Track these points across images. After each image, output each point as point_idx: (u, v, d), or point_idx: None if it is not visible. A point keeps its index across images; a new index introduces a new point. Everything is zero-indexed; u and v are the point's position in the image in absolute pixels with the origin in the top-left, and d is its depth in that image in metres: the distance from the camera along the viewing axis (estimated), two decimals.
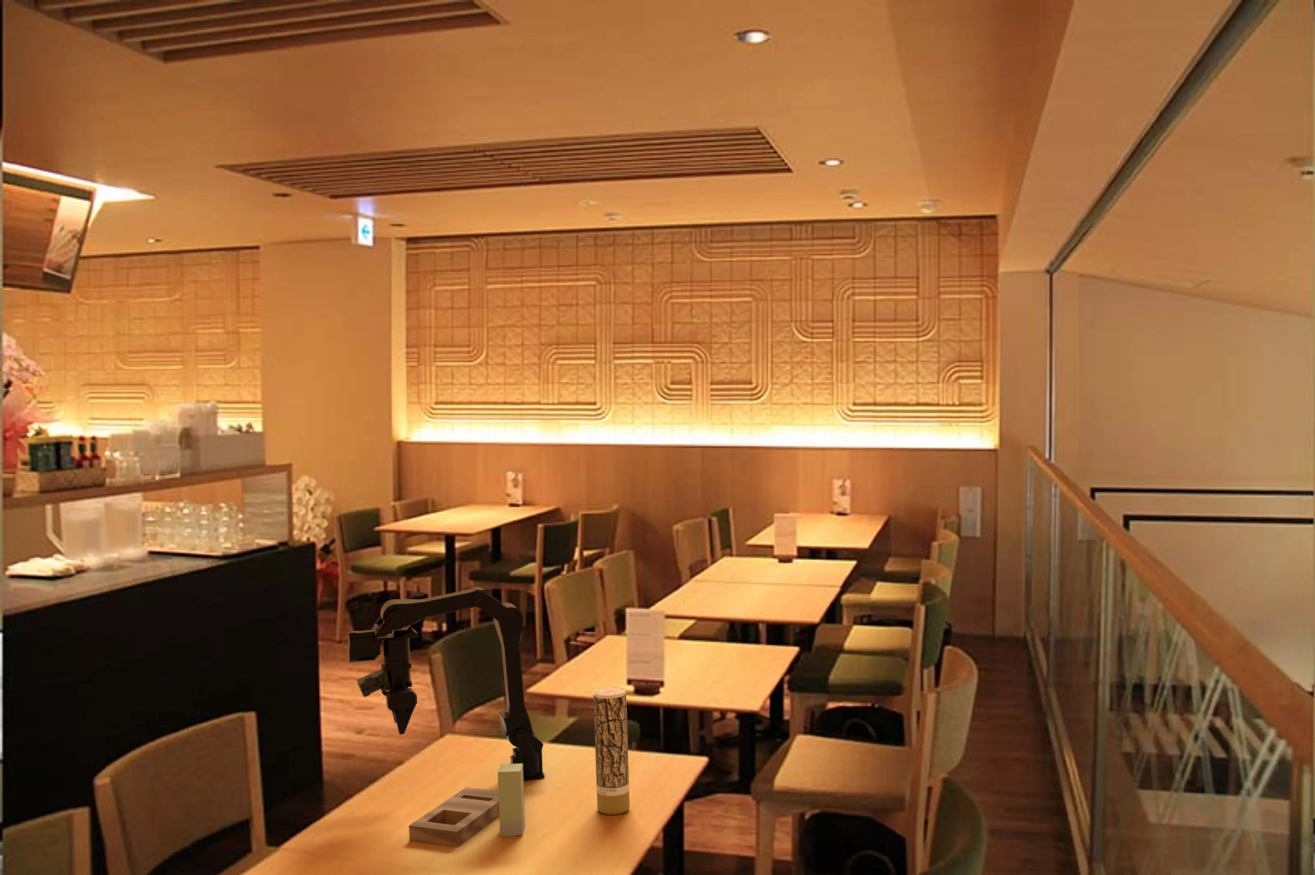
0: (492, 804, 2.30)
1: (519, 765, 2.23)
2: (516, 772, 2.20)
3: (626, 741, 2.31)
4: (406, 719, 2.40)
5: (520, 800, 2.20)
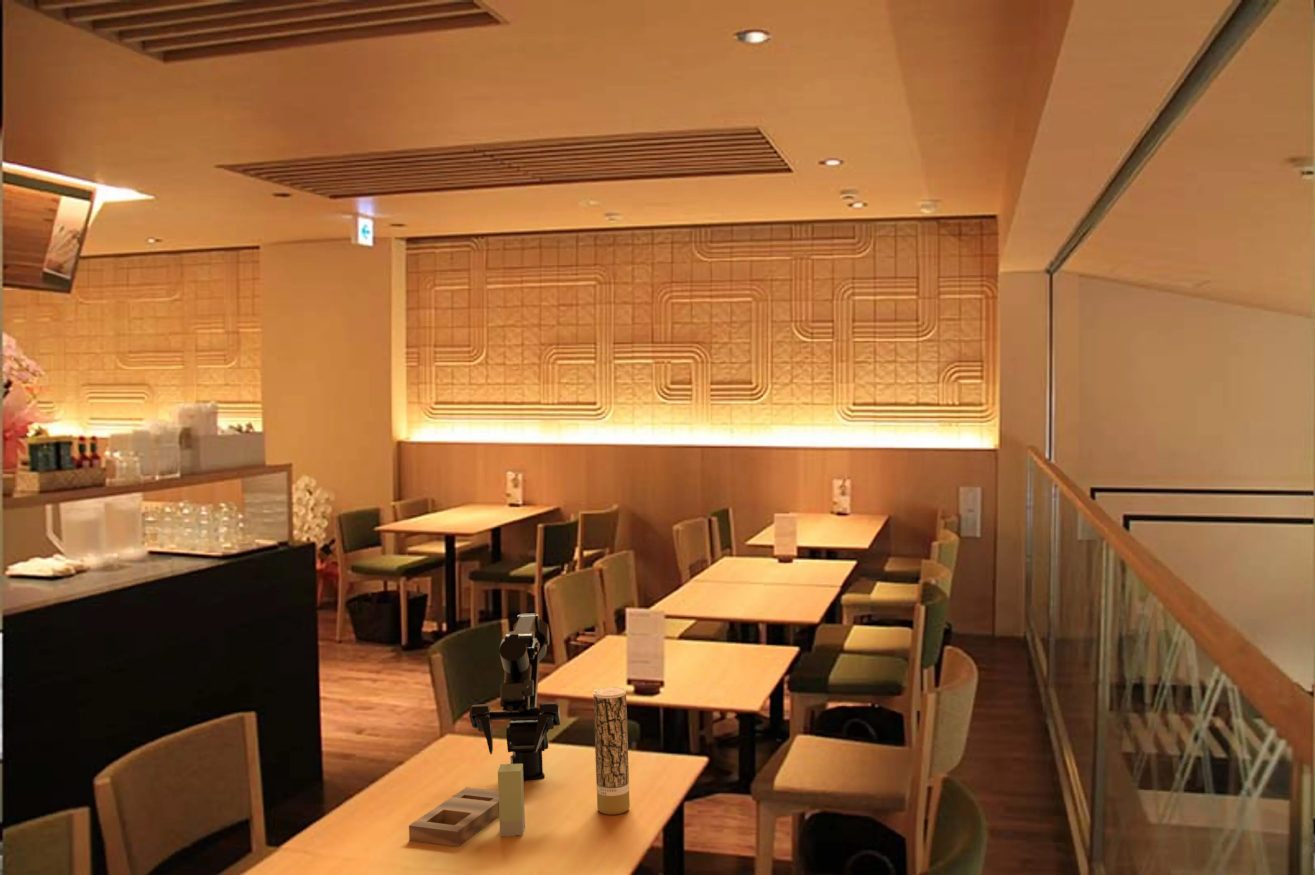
0: (492, 804, 2.30)
1: (519, 765, 2.23)
2: (516, 772, 2.20)
3: (626, 741, 2.31)
4: (542, 738, 2.33)
5: (520, 800, 2.20)
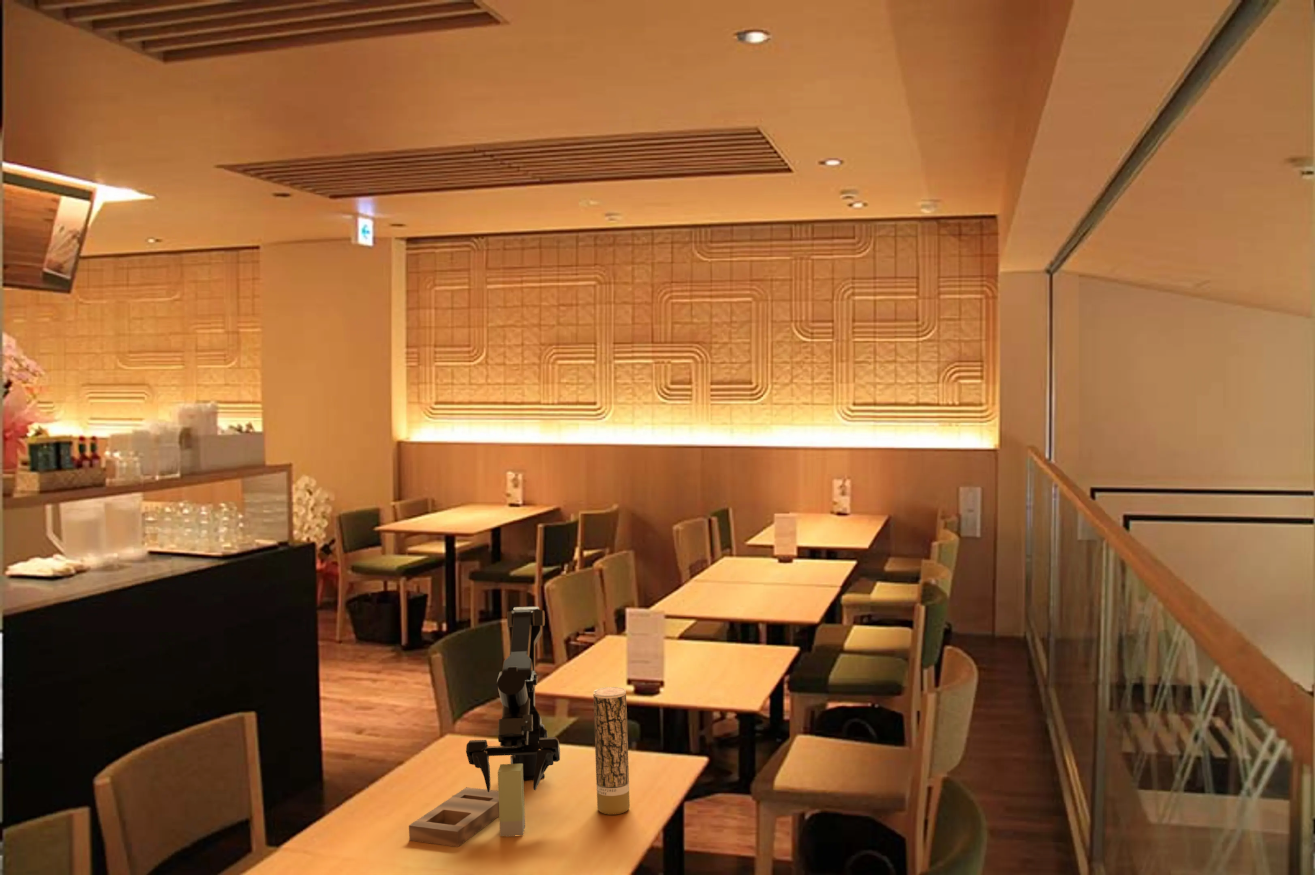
0: (492, 804, 2.30)
1: (519, 765, 2.23)
2: (516, 772, 2.20)
3: (626, 741, 2.31)
4: (541, 775, 2.26)
5: (520, 800, 2.20)
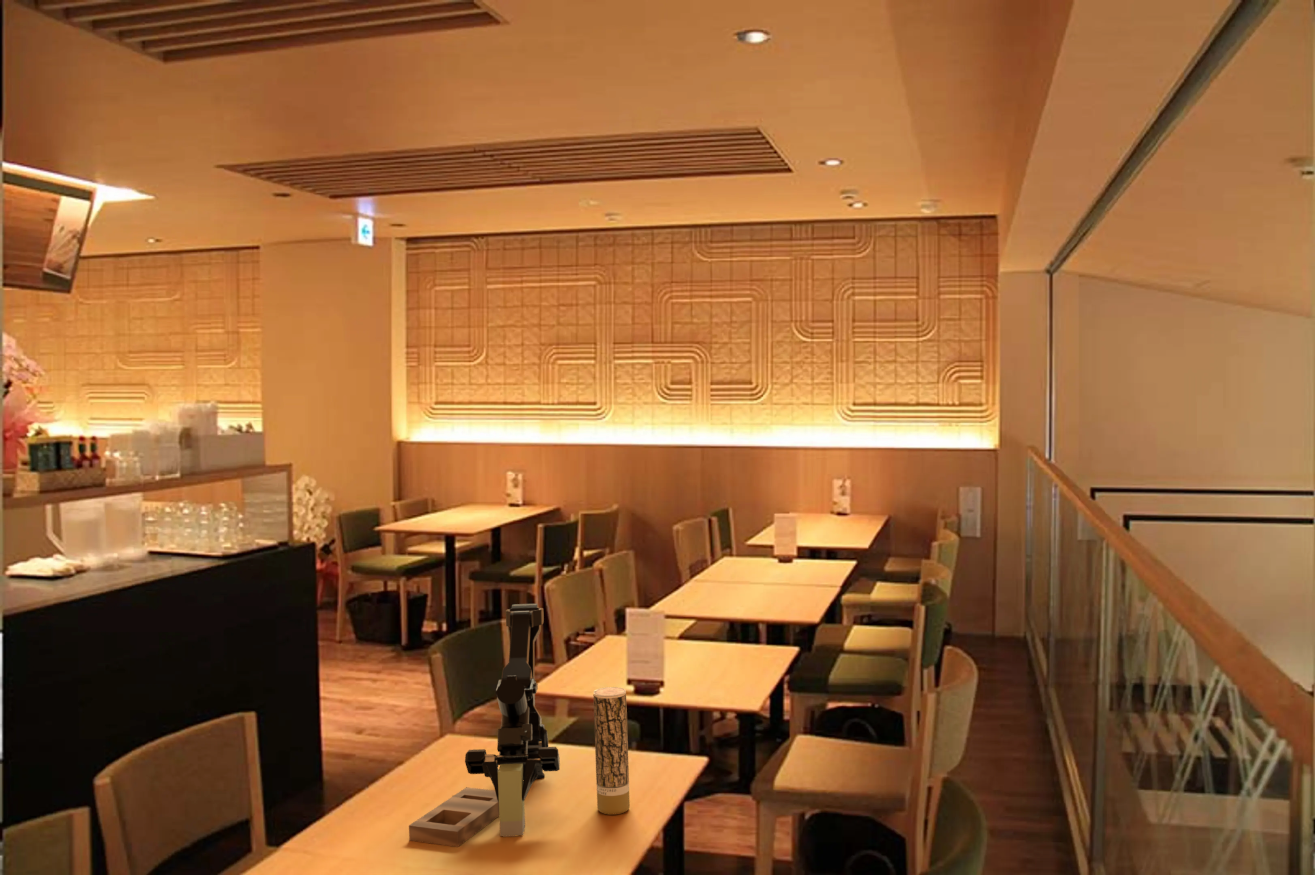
0: (492, 804, 2.30)
1: (519, 765, 2.23)
2: (516, 772, 2.20)
3: (626, 741, 2.31)
4: (530, 785, 2.24)
5: (520, 800, 2.20)
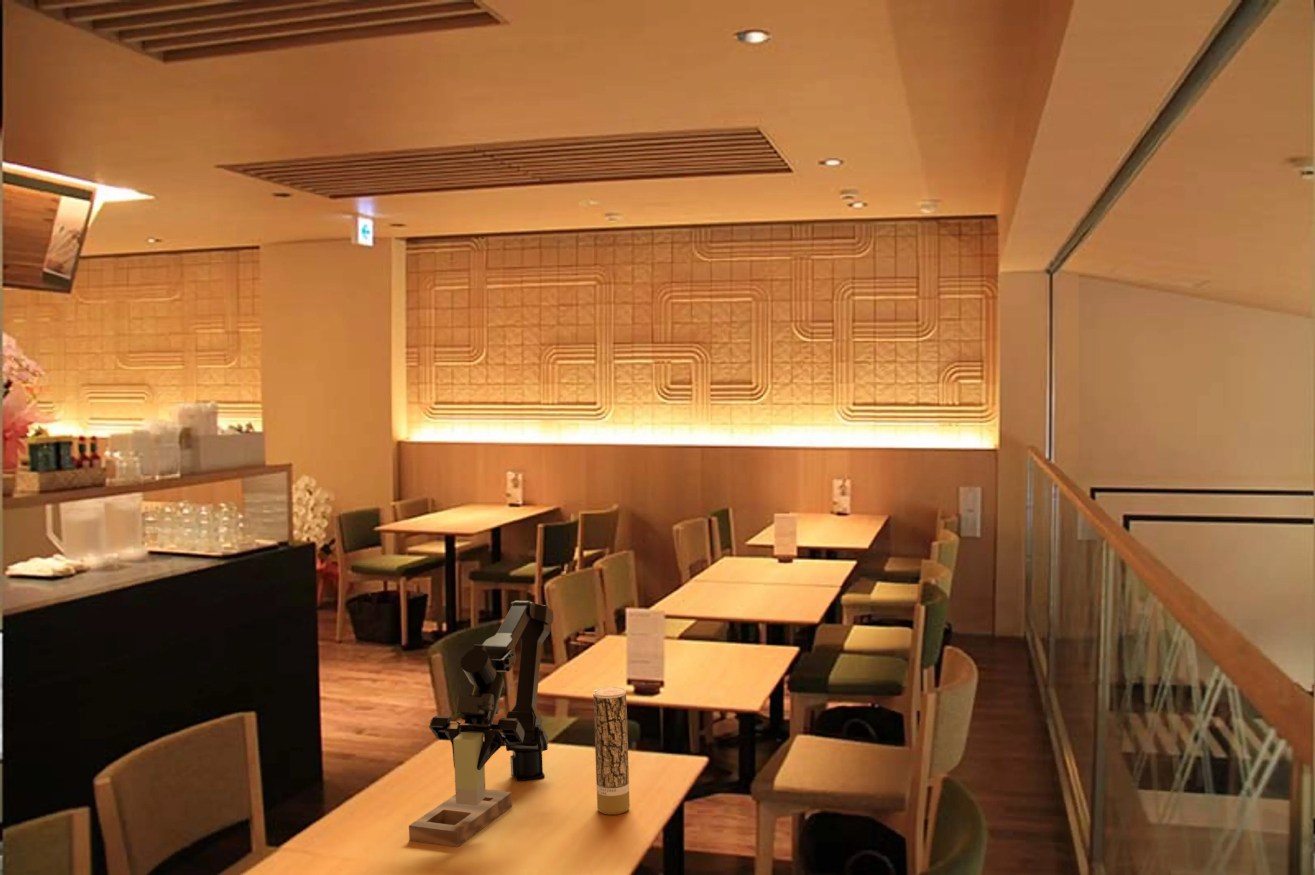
0: (492, 804, 2.30)
1: (478, 734, 2.23)
2: (470, 740, 2.19)
3: (626, 741, 2.31)
4: (489, 755, 2.23)
5: (474, 769, 2.19)
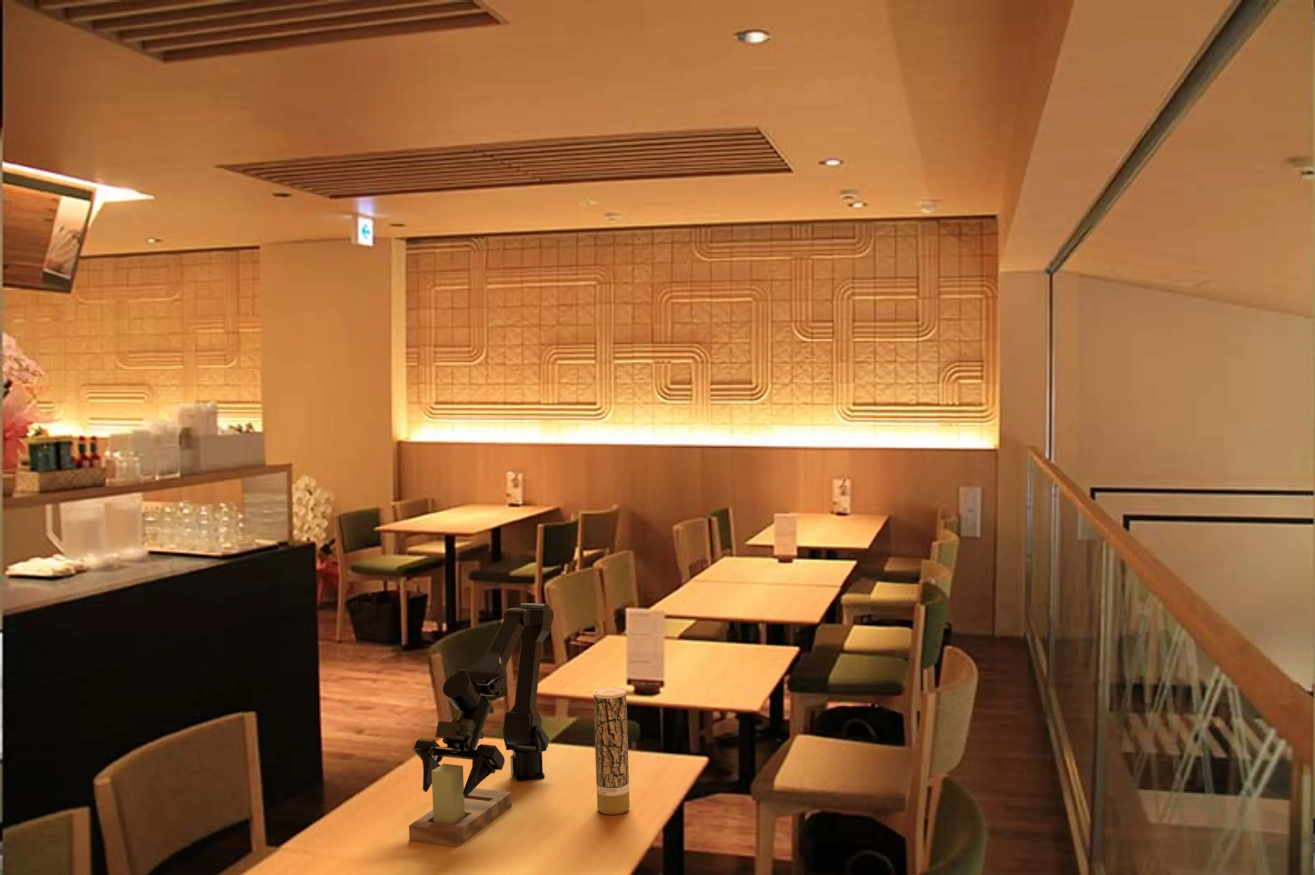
0: (492, 804, 2.30)
1: (457, 767, 2.23)
2: (447, 773, 2.20)
3: (626, 741, 2.31)
4: (477, 782, 2.23)
5: (451, 802, 2.20)
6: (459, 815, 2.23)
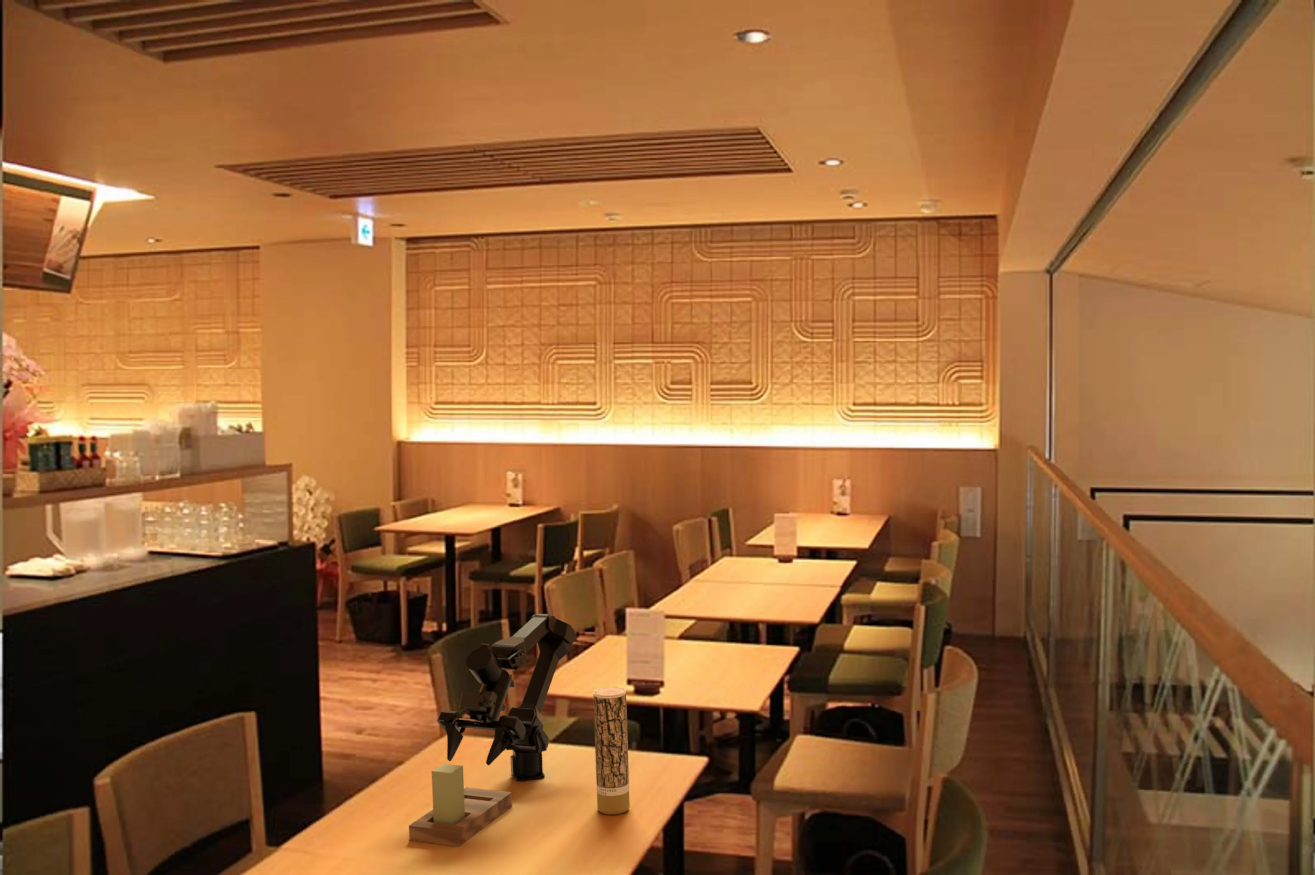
0: (492, 804, 2.30)
1: (457, 767, 2.23)
2: (447, 773, 2.20)
3: (626, 741, 2.31)
4: (499, 752, 2.31)
5: (451, 802, 2.20)
6: (459, 815, 2.23)
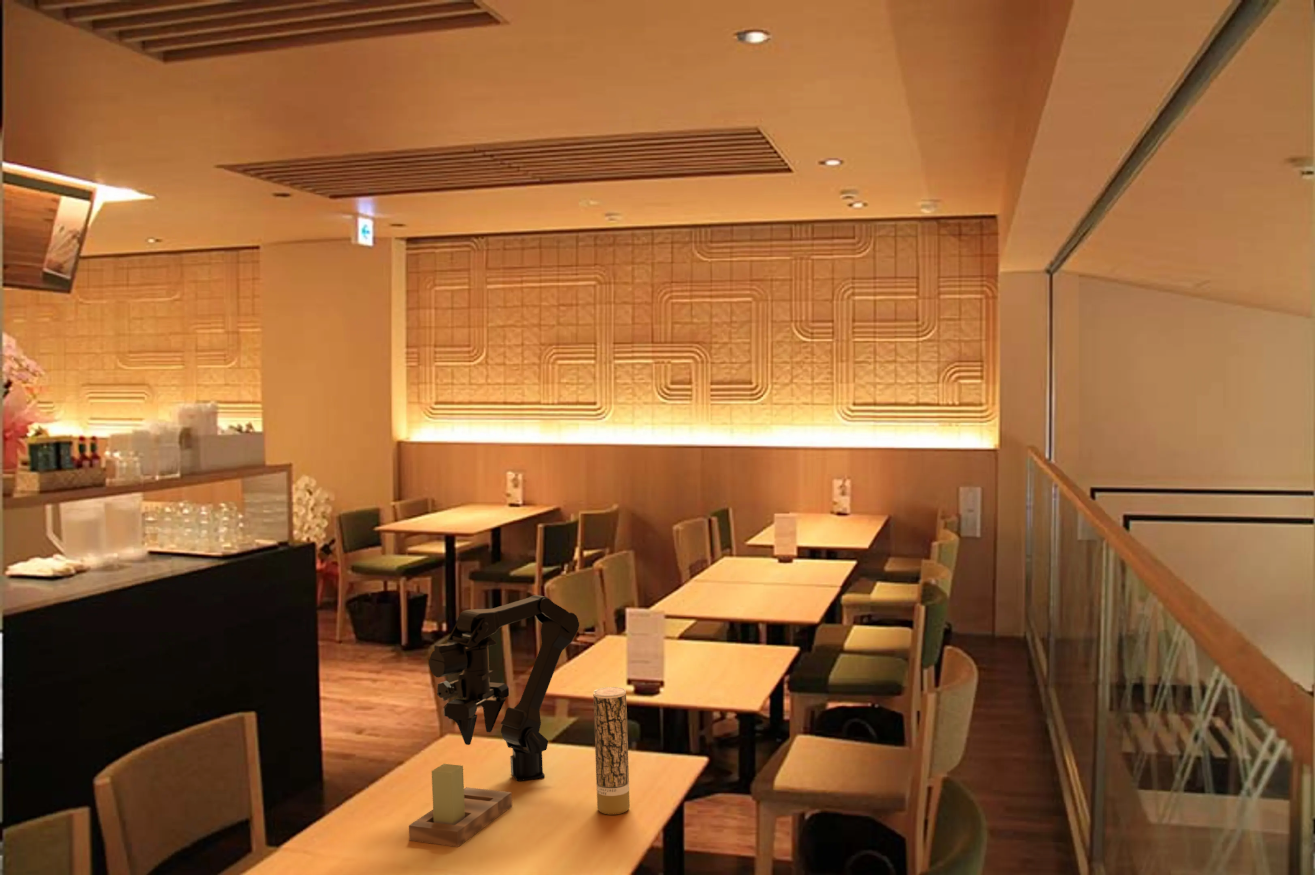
0: (492, 804, 2.30)
1: (457, 767, 2.23)
2: (447, 773, 2.20)
3: (626, 741, 2.31)
4: (468, 731, 2.39)
5: (451, 802, 2.20)
6: (459, 815, 2.23)
